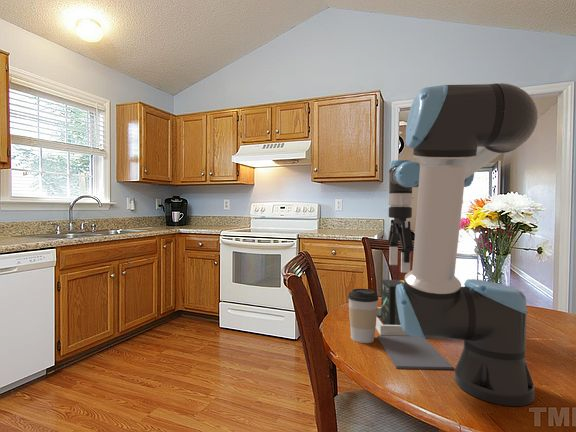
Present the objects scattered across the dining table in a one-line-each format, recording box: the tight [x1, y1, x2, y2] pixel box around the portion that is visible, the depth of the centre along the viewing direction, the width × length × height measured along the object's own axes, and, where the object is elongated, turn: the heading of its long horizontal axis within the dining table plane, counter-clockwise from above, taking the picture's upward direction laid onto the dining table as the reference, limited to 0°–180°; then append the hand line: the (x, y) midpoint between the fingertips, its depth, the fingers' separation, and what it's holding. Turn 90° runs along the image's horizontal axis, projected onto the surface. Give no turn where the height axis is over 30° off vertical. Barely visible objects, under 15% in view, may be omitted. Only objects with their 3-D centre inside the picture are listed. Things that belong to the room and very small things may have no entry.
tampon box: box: [380, 279, 405, 325], centre depth 116 cm, size 11×9×15 cm
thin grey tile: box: [376, 335, 454, 371], centre depth 94 cm, size 20×14×1 cm
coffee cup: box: [347, 288, 379, 344], centre depth 103 cm, size 9×9×15 cm
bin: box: [375, 306, 408, 336], centre depth 116 cm, size 20×17×3 cm
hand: (399, 268), depth 115 cm, fingers open, 13 cm apart
